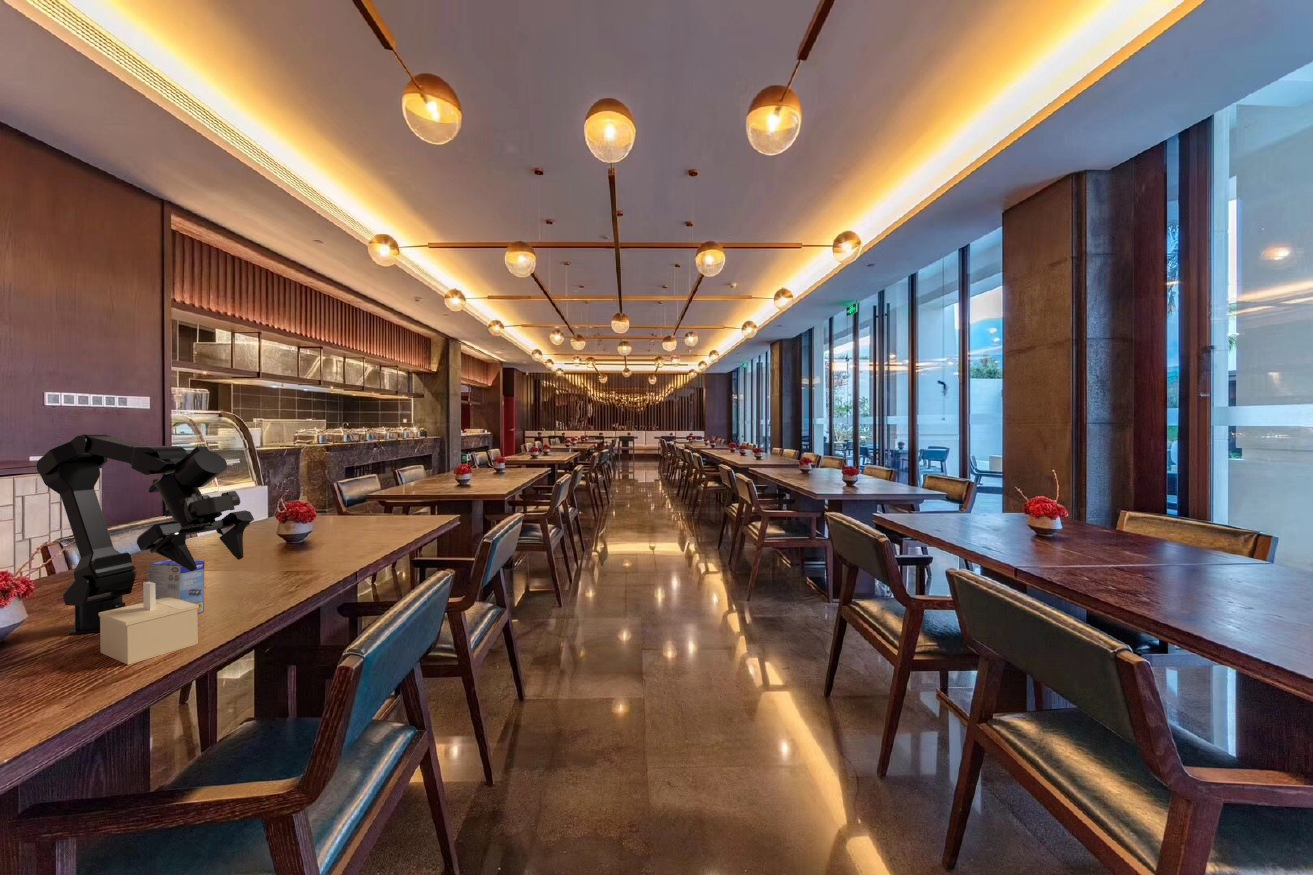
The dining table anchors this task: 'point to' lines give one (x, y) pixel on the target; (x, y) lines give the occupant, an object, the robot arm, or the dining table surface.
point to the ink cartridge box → (178, 581)
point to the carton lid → (148, 608)
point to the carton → (148, 636)
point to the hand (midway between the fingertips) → (218, 564)
